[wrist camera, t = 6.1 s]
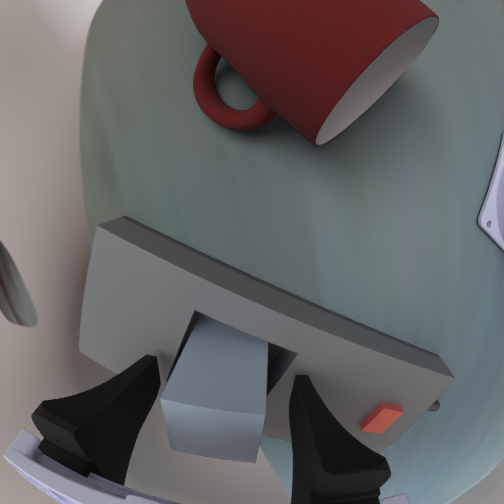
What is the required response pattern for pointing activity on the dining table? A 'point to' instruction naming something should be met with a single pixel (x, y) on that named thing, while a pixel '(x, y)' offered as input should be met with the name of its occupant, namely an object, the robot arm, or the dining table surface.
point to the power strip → (254, 323)
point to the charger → (217, 393)
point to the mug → (307, 57)
